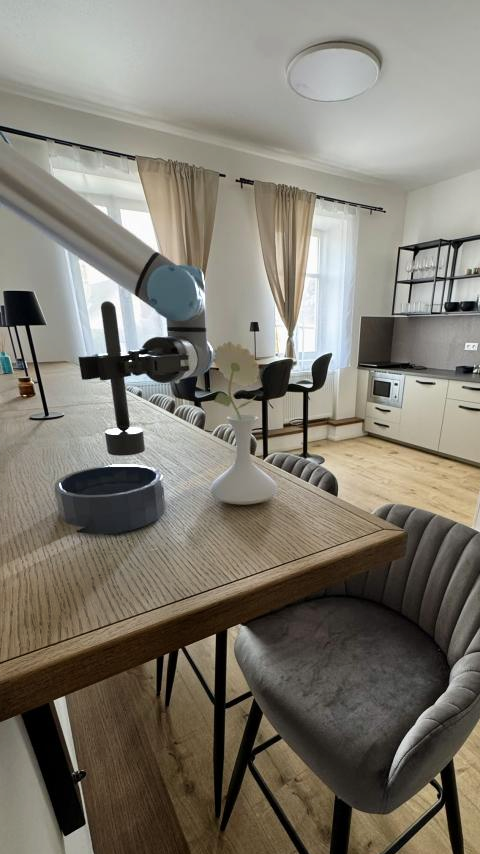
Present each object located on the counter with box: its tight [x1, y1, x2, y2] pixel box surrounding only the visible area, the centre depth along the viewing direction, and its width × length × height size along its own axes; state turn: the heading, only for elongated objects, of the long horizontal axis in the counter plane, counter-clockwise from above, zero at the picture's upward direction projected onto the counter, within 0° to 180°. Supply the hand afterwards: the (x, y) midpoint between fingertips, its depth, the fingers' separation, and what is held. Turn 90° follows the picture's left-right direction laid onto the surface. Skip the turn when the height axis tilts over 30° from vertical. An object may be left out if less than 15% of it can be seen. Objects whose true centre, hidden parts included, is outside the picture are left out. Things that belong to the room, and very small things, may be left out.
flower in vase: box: [209, 341, 278, 506], centre depth 66 cm, size 13×11×25 cm
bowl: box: [53, 464, 166, 535], centre depth 61 cm, size 15×15×6 cm
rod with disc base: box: [100, 300, 146, 457], centre depth 57 cm, size 5×5×20 cm
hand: (92, 368), depth 51 cm, fingers closed on rod with disc base, 2 cm apart
